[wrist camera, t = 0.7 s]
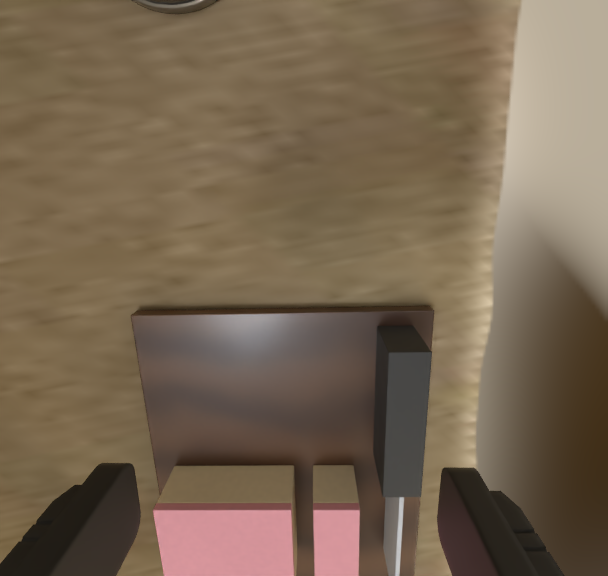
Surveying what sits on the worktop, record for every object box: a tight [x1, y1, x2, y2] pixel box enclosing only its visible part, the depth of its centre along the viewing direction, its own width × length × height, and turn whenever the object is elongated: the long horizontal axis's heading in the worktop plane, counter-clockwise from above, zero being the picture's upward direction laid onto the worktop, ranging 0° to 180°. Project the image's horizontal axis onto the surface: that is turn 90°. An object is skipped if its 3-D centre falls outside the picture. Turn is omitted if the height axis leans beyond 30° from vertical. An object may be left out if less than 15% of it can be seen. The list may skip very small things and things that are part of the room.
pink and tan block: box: [313, 465, 360, 576], centre depth 27 cm, size 8×3×4 cm, turn 1°
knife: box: [373, 325, 432, 576], centre depth 25 cm, size 19×2×4 cm, turn 2°
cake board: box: [131, 306, 434, 576], centre depth 29 cm, size 25×20×1 cm
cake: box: [153, 465, 297, 576], centre depth 27 cm, size 8×9×4 cm
